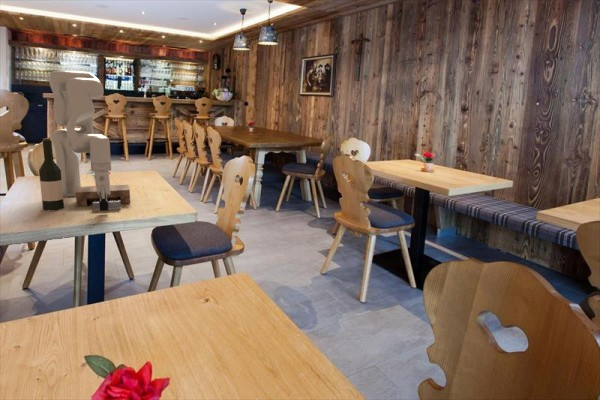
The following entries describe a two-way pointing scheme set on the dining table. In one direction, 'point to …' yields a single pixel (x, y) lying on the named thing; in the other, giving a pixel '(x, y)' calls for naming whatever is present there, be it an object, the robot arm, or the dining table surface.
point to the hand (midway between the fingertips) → (104, 210)
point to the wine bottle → (50, 180)
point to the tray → (112, 204)
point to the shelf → (91, 194)
